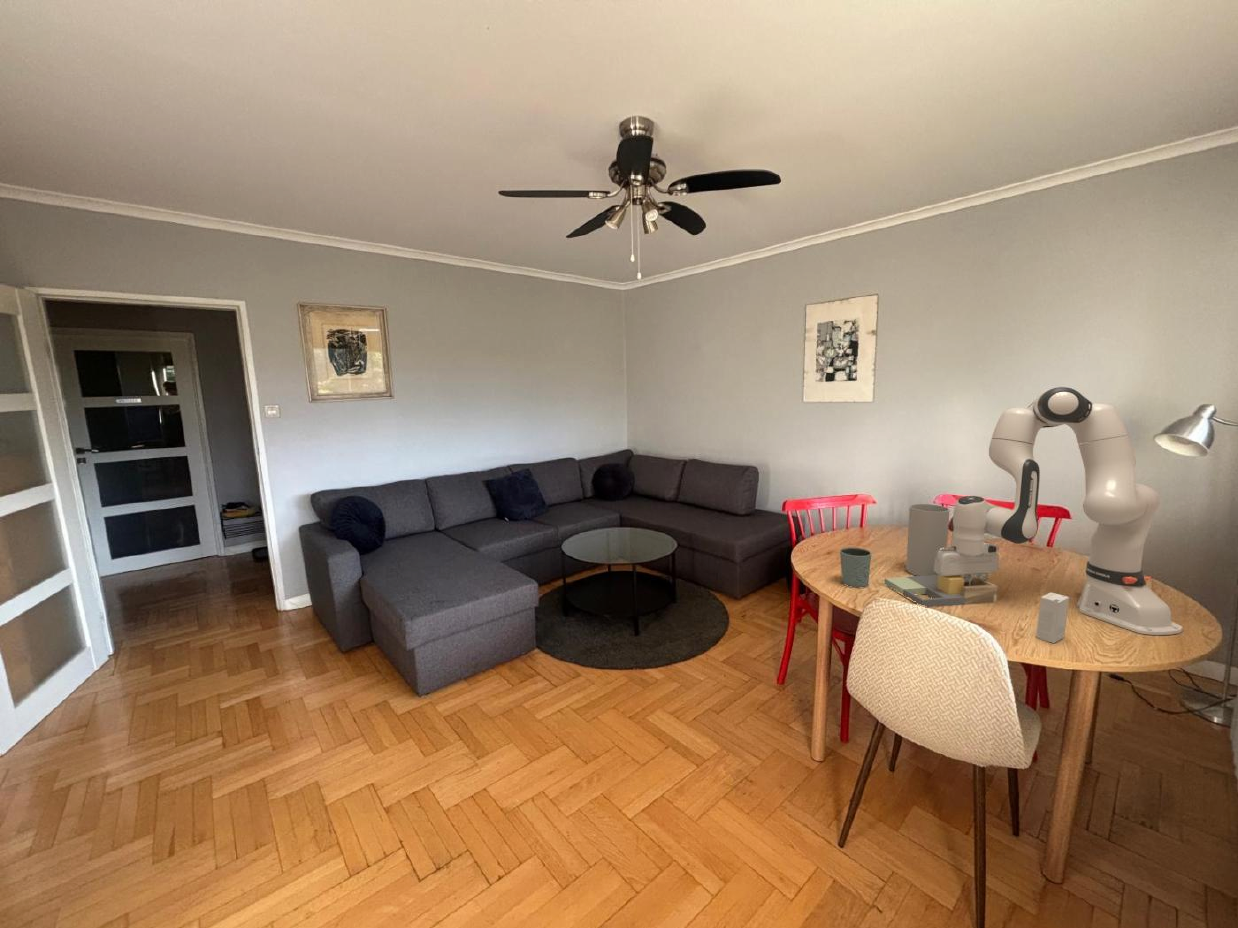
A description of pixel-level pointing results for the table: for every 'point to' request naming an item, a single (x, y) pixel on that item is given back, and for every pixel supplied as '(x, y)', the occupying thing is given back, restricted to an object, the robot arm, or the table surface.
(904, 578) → the grey tray
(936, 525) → the cylinder vase
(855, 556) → the teal cup
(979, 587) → the brown wooden open box
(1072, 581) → the table surface
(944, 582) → the ochre block
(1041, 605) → the skincare box
